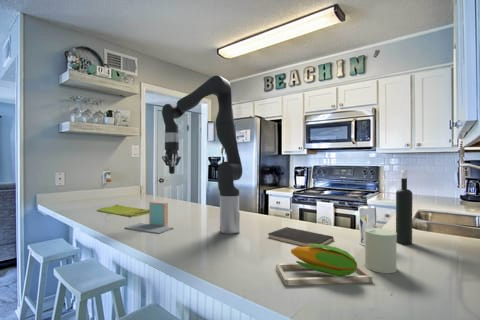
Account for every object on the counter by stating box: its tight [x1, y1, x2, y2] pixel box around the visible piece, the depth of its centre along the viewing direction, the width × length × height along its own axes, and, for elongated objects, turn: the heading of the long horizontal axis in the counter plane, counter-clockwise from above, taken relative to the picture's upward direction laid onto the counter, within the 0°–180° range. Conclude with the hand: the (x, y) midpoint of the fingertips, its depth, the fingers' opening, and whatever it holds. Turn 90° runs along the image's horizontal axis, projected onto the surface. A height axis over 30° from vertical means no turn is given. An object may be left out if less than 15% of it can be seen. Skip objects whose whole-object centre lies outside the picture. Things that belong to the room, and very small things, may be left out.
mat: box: [124, 222, 174, 235], centre depth 132 cm, size 22×10×1 cm, turn 65°
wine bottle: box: [395, 169, 413, 246], centre depth 110 cm, size 6×6×30 cm
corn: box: [290, 243, 358, 277], centre depth 80 cm, size 7×8×20 cm
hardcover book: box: [267, 226, 335, 247], centre depth 116 cm, size 16×23×2 cm
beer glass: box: [357, 205, 378, 247], centre depth 109 cm, size 7×7×15 cm
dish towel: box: [96, 203, 149, 218], centre depth 173 cm, size 15×36×3 cm, turn 59°
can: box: [363, 227, 398, 274], centre depth 85 cm, size 9×9×12 cm
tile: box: [148, 201, 169, 227], centre depth 138 cm, size 10×3×12 cm, turn 65°
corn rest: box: [275, 262, 373, 286], centre depth 80 cm, size 25×11×2 cm, turn 95°
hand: (171, 173), depth 144 cm, fingers closed
